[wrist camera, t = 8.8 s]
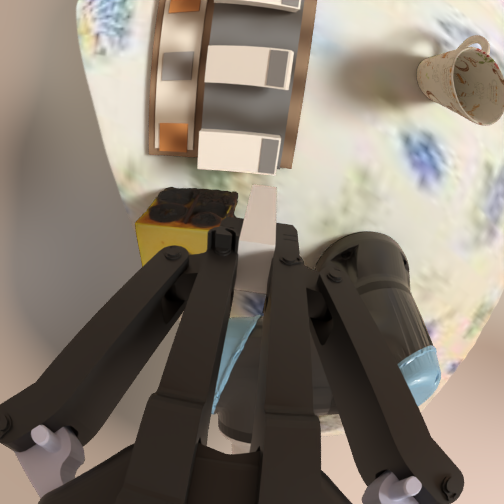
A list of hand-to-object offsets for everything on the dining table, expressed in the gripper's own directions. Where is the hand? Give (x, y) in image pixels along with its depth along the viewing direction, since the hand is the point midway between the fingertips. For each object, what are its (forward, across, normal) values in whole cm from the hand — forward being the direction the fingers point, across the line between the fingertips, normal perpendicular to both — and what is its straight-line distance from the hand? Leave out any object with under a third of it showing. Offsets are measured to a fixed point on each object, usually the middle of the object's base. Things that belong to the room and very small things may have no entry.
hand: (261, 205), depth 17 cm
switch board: (+17, +6, -9) cm, 21 cm away
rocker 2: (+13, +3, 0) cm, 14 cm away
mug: (+17, -20, -16) cm, 31 cm away
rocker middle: (+13, +3, -9) cm, 16 cm away
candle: (+18, +8, +12) cm, 23 cm away
